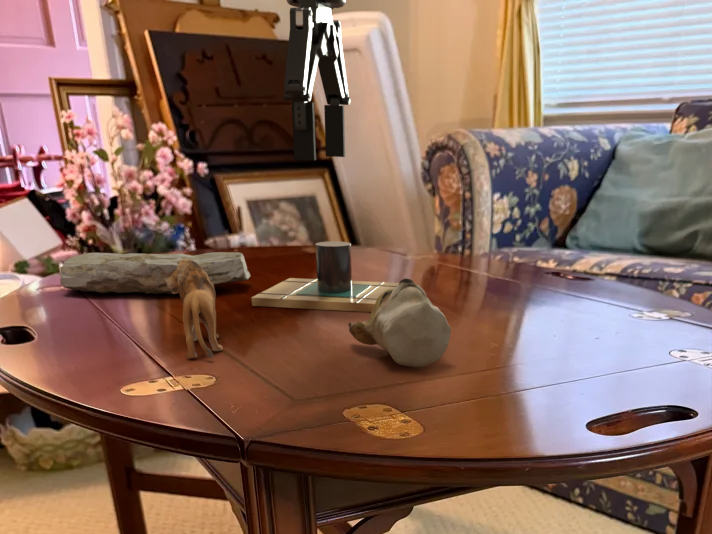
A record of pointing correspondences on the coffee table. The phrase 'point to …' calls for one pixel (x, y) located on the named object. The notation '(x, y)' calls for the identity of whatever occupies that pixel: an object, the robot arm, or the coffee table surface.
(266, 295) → the grid board
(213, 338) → the lion figurine
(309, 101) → the robot arm
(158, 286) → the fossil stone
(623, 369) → the coffee table surface
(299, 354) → the coffee table surface
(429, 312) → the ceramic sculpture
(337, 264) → the black round canister
